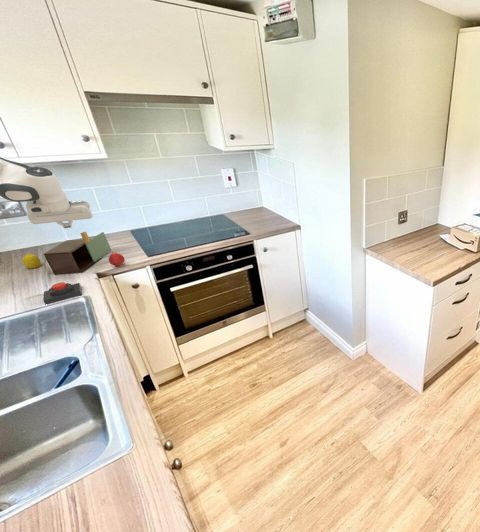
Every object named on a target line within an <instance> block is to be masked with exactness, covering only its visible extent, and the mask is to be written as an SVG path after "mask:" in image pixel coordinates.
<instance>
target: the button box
mask: <svg viewBox="0 0 480 532" xmlns="http://www.w3.org/2000/svg"><path fill="white" fill-rule="evenodd" d="M64 283H65V284H66V286H67V287H66V288H64V289H61V290H55V291H54V290H53V288H52V286H51V287H50V288H48V290H44V291H43V296H42V297H43V298H42V301H43V303H44V305H45V306H46V304H47V305H51V304H55V303H58V302H62V301H66V300H69V299H73V298H76V297H81V296H83V288H82V285H81V283H80V282H77V283H73V284H72V283H68V282H64Z"/></svg>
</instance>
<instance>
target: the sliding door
mask: <svg viewBox="0 0 480 532" xmlns="http://www.w3.org/2000/svg"><path fill="white" fill-rule="evenodd" d="M80 236H81V239H83V240H84V242H85V245H86V247H87V249H88V252H89V254H90V256H91V258H92V260H93V262H95V261H97V260H98V259H99V258H103V257H104V256H105V255H107V254H108V253H109V252H111V251H112V248H111V245H110V244H109V241H108V239H107V236H106V234H105V231H101V232H100V233H99V234H97V235H95V236H93V237H92V238H90V237H89V234H88V233H87V231H82V232H80Z"/></svg>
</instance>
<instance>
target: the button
mask: <svg viewBox="0 0 480 532" xmlns="http://www.w3.org/2000/svg"><path fill="white" fill-rule="evenodd" d="M65 283H66V282H63V281H61V282H57V283H54V284H52V285H51V287H52V288H53V290H54V291H55V290H61V289H64V288H66V287H67V286H66V284H65Z"/></svg>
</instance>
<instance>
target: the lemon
mask: <svg viewBox="0 0 480 532" xmlns="http://www.w3.org/2000/svg"><path fill="white" fill-rule="evenodd" d="M21 261H22V264H23V266H25V267H26V268H28V269H38V268H39V267H40V266H41V264H42V261H41V259H40V258H39V257H38V256H37V255H35V254H32V253H31V254H30V253H26V254H25V255H24V256H22V259H21Z"/></svg>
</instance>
